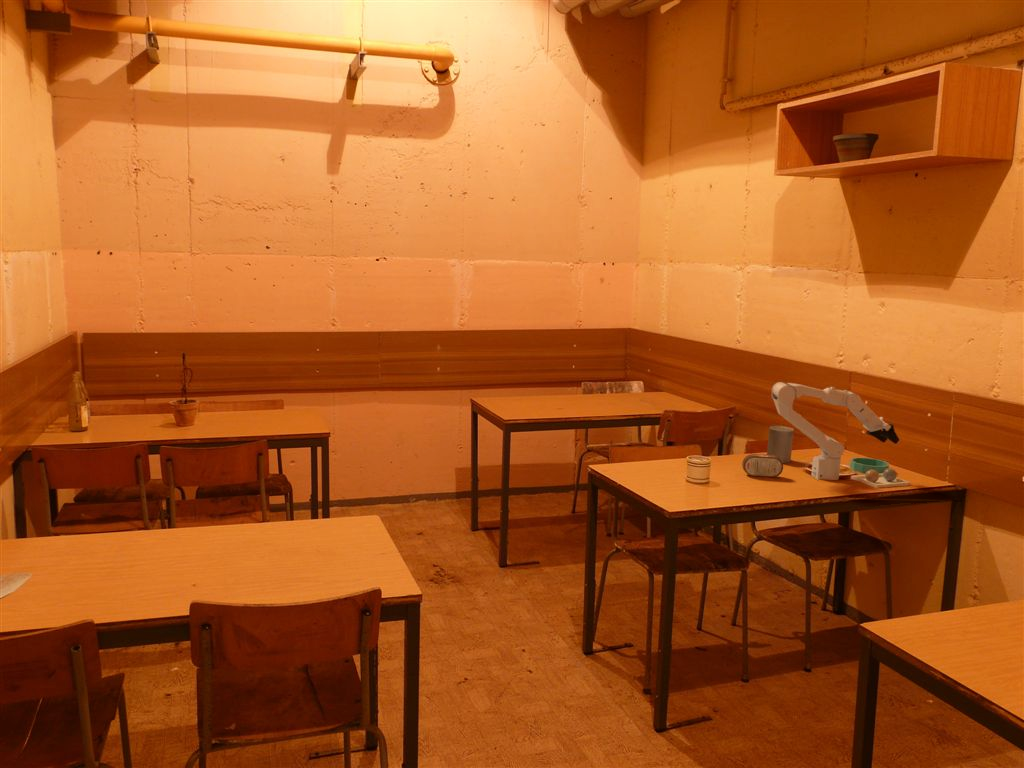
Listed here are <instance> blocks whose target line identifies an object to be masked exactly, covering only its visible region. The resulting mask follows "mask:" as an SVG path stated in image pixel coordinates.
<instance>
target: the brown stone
mask: <svg viewBox="0 0 1024 768" xmlns="http://www.w3.org/2000/svg"><path fill="white" fill-rule="evenodd" d="M864 475H865V478H866V480H867V481H869V482H872V483H873V482H876V481H877V480H878V479H879V474H878V472H877V471H875V470H868V471H867V472H866V473H864Z"/></svg>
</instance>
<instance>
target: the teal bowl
mask: <svg viewBox="0 0 1024 768" xmlns="http://www.w3.org/2000/svg"><path fill="white" fill-rule="evenodd" d="M850 468H851V469H850ZM888 468H890V463H889V462H887V461H885V460H880V459H877V458H871V457H869V458H868V457H852V458H850V461H849V469H850V470H852V469H853V470H852V471H854V472H857V473H861V474H866V472H867V471H868V470H875V471H877V472H878V474H882V473H883V472H884V471H885V470H886V469H888Z"/></svg>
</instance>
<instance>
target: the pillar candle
mask: <svg viewBox="0 0 1024 768" xmlns="http://www.w3.org/2000/svg"><path fill="white" fill-rule="evenodd" d="M794 430H795V429H794V428H792V427H789V426H783V424H781V425H771V426H769V429H768V441H767V450H766V455H774V456H777V457H779V458H780V459H781V461H782V463H783V464H789V463H791V461H792V450H793V449H792V448H793V441H794Z"/></svg>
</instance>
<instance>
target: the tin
mask: <svg viewBox="0 0 1024 768" xmlns="http://www.w3.org/2000/svg"><path fill="white" fill-rule="evenodd" d="M741 462H742V463H741V465H742V467H741V468H742V470H743V471H744V472H745V474H747V475H748V476H750V477H758V478H759V477H761V478H763V477H764V478H777V477H780V475H781V474H782V473H783V470H784V463H782V461H781V459H780V458H779V457H777V456H774V455H767V454H759V453H758V454H757V453H751V454H748V455H747V456H745V457H744V459H743V460H742V461H741Z"/></svg>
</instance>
